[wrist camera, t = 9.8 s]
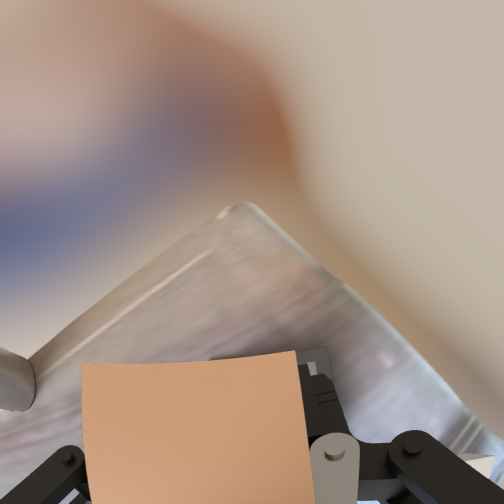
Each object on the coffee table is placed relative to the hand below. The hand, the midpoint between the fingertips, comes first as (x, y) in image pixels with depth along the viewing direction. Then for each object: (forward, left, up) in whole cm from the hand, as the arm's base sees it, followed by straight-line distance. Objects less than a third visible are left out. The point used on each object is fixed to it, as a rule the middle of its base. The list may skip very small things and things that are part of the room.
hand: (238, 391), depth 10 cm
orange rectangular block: (-1, -2, -6) cm, 6 cm away
